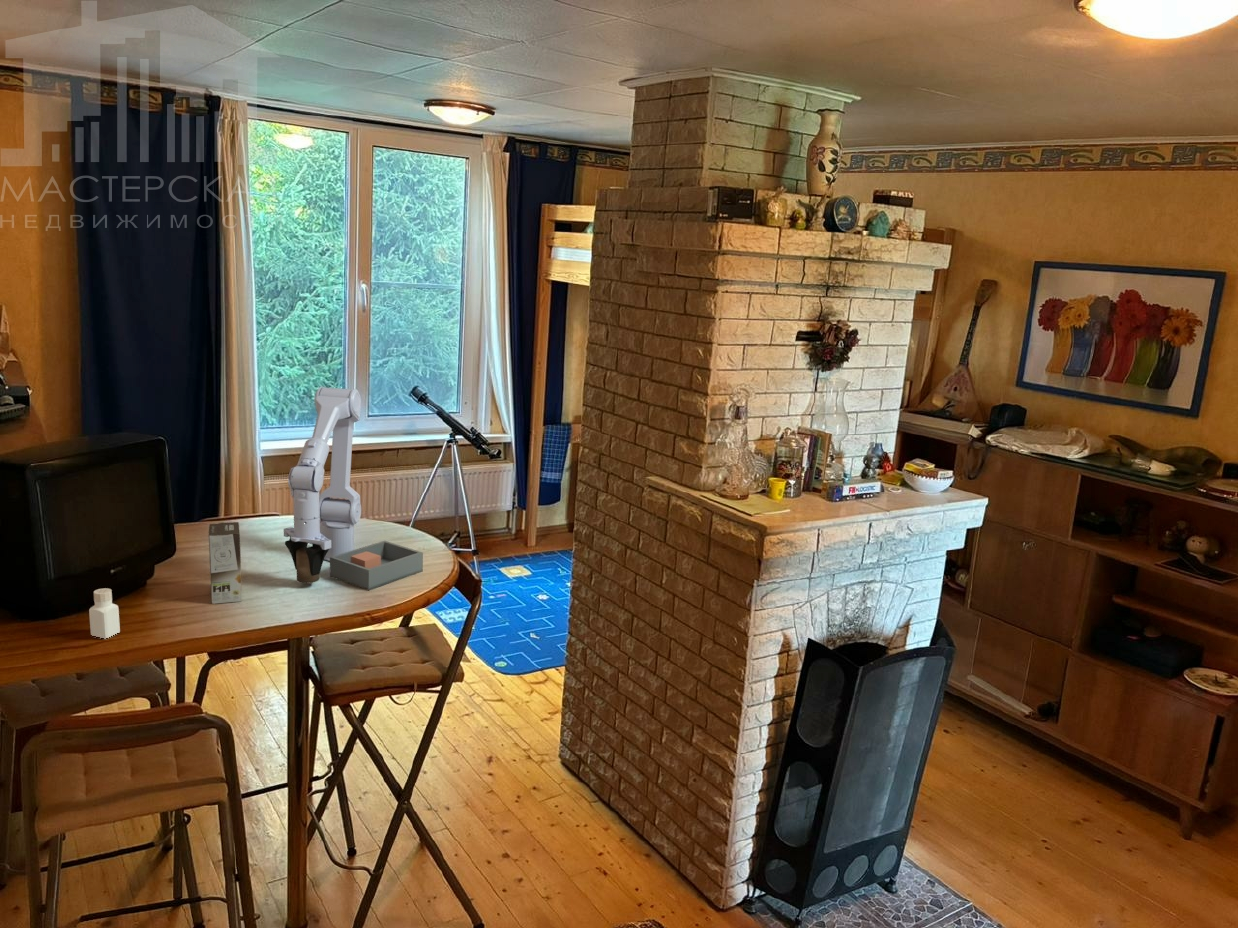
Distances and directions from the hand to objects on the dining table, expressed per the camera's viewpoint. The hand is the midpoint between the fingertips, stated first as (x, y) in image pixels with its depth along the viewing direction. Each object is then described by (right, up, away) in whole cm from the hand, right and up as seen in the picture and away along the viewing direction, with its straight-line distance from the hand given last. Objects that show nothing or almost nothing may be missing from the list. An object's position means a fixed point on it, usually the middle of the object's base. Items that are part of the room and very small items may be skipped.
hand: (307, 571), depth 220 cm
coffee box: (-16, -5, -8) cm, 18 cm away
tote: (+14, -2, +11) cm, 17 cm away
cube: (+12, -2, +8) cm, 14 cm away
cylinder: (0, -2, 0) cm, 2 cm away
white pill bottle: (-30, -9, -32) cm, 45 cm away
